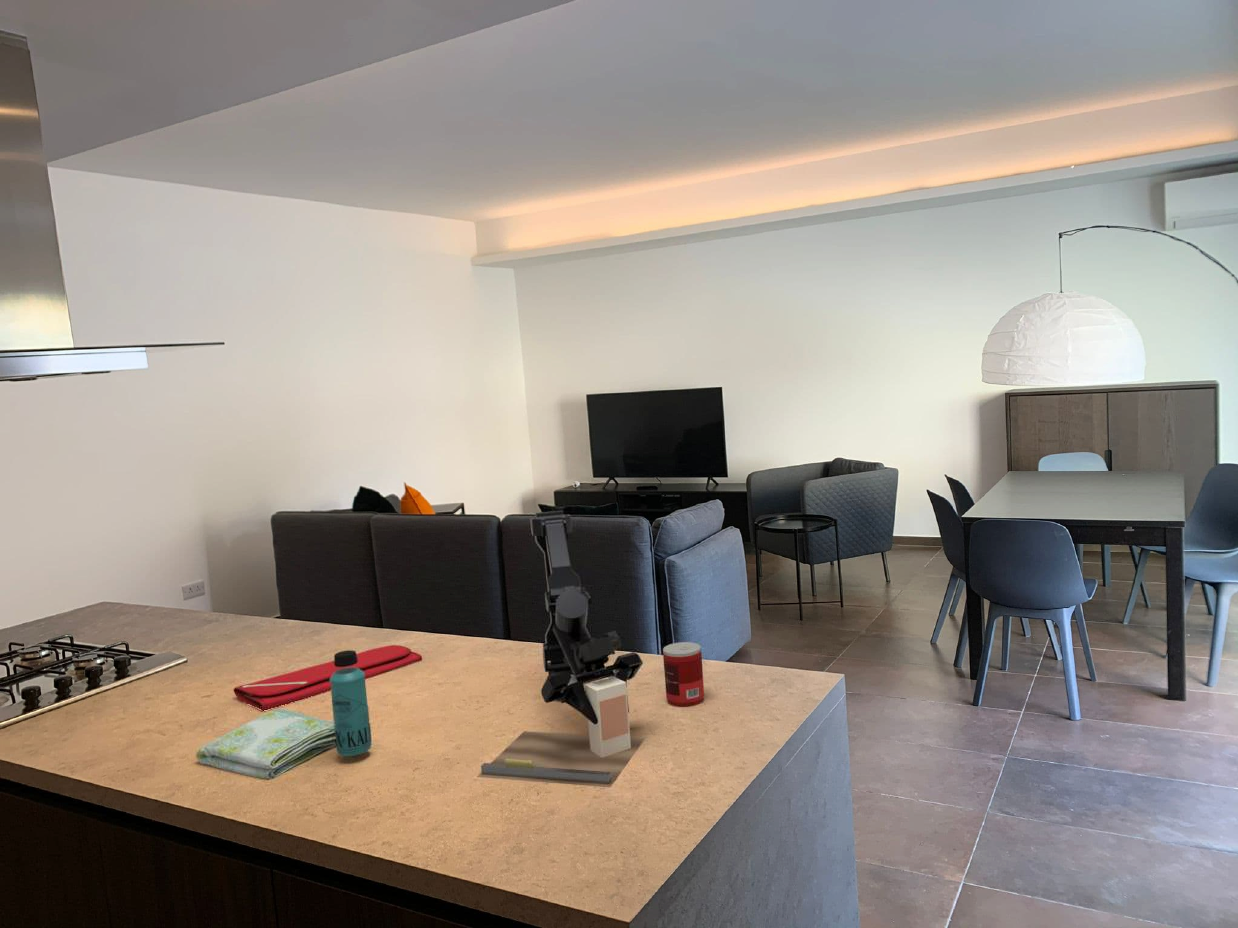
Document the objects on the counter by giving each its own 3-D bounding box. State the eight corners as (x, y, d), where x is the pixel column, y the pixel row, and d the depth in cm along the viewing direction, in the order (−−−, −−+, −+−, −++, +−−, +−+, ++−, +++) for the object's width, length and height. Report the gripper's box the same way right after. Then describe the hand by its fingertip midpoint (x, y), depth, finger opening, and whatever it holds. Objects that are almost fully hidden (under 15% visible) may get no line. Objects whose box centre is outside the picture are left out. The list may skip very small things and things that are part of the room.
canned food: (709, 694, 185) (706, 642, 184) (696, 708, 178) (692, 654, 177) (675, 691, 188) (671, 640, 187) (660, 705, 181) (656, 652, 180)
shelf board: (524, 736, 170) (524, 731, 170) (645, 743, 163) (645, 738, 163) (477, 782, 152) (476, 776, 152) (610, 792, 144) (610, 786, 144)
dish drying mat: (423, 662, 224) (422, 647, 224) (264, 714, 195) (262, 698, 194) (389, 652, 235) (387, 638, 235) (233, 700, 206) (231, 684, 205)
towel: (271, 784, 159) (267, 756, 158) (195, 765, 169) (192, 739, 169) (348, 744, 174) (346, 718, 174) (275, 729, 185) (272, 705, 184)
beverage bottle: (341, 751, 170) (330, 648, 168) (376, 747, 170) (366, 645, 168) (333, 766, 163) (321, 659, 161) (370, 762, 164) (359, 655, 162)
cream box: (590, 750, 159) (585, 684, 158) (619, 741, 162) (614, 676, 161) (602, 757, 156) (597, 690, 154) (631, 748, 159) (626, 682, 158)
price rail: (485, 770, 154) (484, 756, 154) (612, 779, 147) (611, 765, 147) (481, 774, 153) (480, 760, 152) (609, 784, 145) (608, 769, 145)
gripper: (542, 630, 155) (579, 709, 147) (633, 608, 165) (672, 682, 157) (526, 663, 163) (560, 740, 155) (614, 641, 173) (650, 713, 164)
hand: (612, 718), depth 157 cm, fingers closed on cream box, 6 cm apart
